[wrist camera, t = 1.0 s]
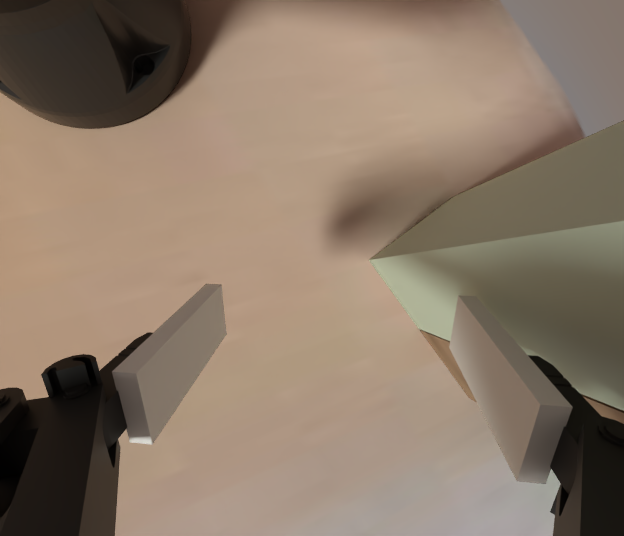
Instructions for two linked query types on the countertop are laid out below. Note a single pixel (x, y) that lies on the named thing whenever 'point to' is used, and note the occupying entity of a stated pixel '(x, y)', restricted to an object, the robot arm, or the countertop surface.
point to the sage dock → (531, 261)
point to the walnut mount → (448, 359)
